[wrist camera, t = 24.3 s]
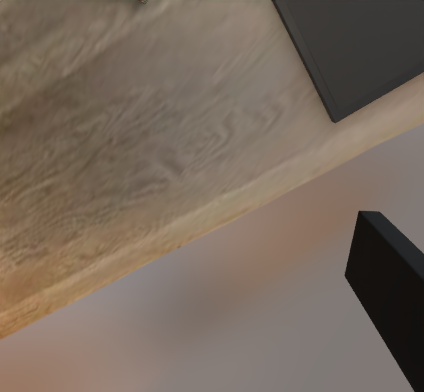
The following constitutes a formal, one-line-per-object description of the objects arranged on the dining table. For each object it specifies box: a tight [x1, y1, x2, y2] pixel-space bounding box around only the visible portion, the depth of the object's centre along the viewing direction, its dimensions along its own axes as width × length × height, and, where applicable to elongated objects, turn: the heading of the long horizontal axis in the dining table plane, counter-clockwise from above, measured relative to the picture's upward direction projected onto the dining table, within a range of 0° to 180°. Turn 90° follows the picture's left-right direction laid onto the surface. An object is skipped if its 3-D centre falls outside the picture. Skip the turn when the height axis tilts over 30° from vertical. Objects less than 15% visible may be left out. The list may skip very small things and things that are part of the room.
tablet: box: [272, 0, 424, 123], centre depth 42 cm, size 22×16×1 cm
